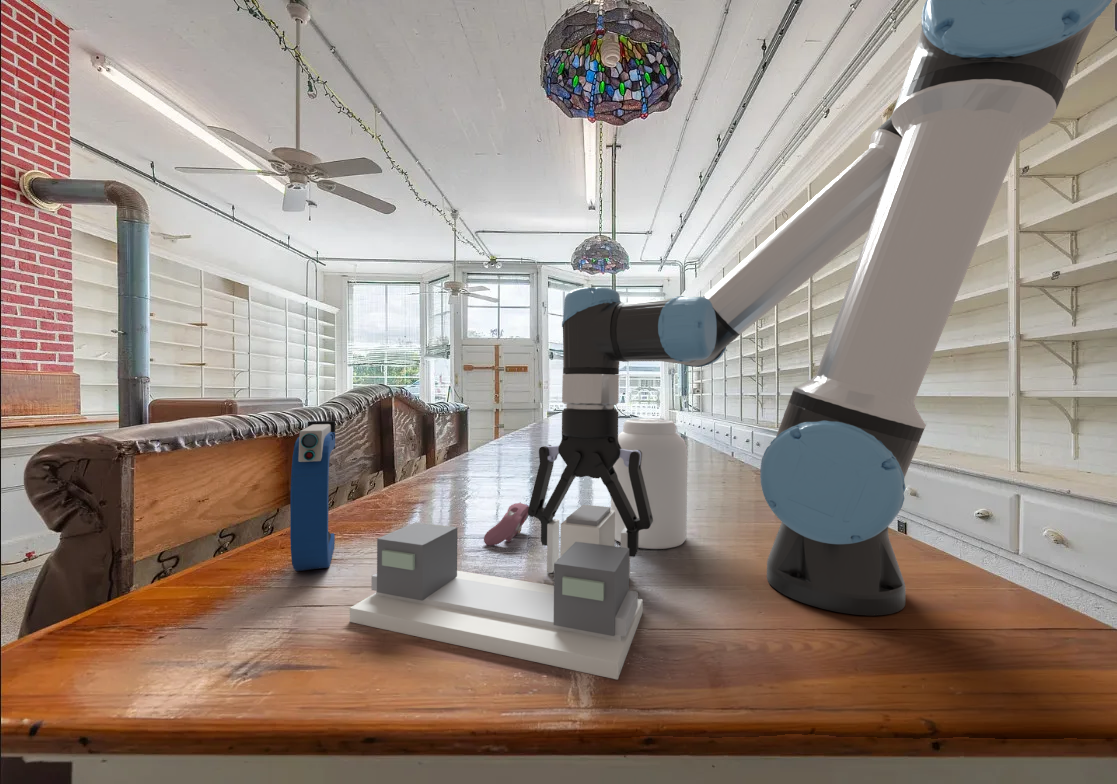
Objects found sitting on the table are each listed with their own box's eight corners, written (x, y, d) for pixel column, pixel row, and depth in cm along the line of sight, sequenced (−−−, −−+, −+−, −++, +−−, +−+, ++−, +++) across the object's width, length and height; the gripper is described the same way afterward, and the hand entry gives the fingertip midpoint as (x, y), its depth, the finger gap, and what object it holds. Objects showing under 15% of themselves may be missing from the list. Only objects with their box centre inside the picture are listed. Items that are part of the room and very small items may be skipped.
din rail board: (642, 612, 53) (643, 540, 53) (617, 679, 41) (618, 586, 41) (422, 576, 63) (423, 515, 63) (349, 621, 51) (350, 545, 51)
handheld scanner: (338, 542, 76) (336, 420, 76) (329, 580, 61) (327, 428, 61) (306, 545, 75) (304, 421, 74) (289, 586, 60) (286, 429, 59)
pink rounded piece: (504, 558, 74) (524, 519, 74) (479, 543, 75) (499, 504, 75) (521, 538, 84) (539, 504, 83) (499, 525, 85) (516, 491, 84)
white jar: (608, 526, 86) (609, 416, 86) (677, 528, 86) (679, 417, 86) (613, 550, 74) (614, 421, 74) (694, 552, 73) (696, 422, 73)
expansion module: (614, 567, 67) (615, 506, 67) (598, 592, 59) (599, 523, 59) (580, 562, 69) (581, 503, 69) (560, 586, 60) (560, 519, 60)
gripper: (677, 407, 63) (675, 575, 64) (525, 404, 71) (523, 554, 71) (671, 410, 56) (668, 598, 57) (503, 405, 64) (501, 573, 64)
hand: (588, 574), depth 64 cm, fingers open, 9 cm apart
